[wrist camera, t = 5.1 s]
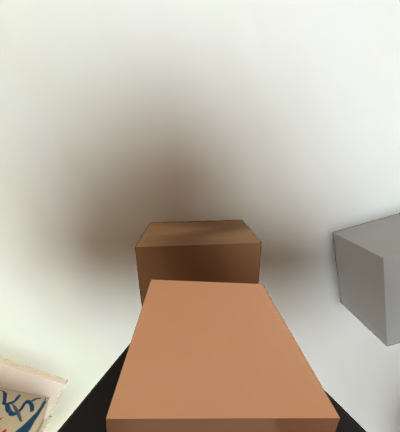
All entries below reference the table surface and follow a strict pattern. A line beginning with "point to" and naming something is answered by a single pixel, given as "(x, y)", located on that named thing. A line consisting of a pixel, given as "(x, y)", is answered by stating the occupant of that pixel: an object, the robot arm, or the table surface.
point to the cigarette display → (26, 397)
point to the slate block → (371, 275)
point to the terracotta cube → (216, 366)
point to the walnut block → (198, 253)
